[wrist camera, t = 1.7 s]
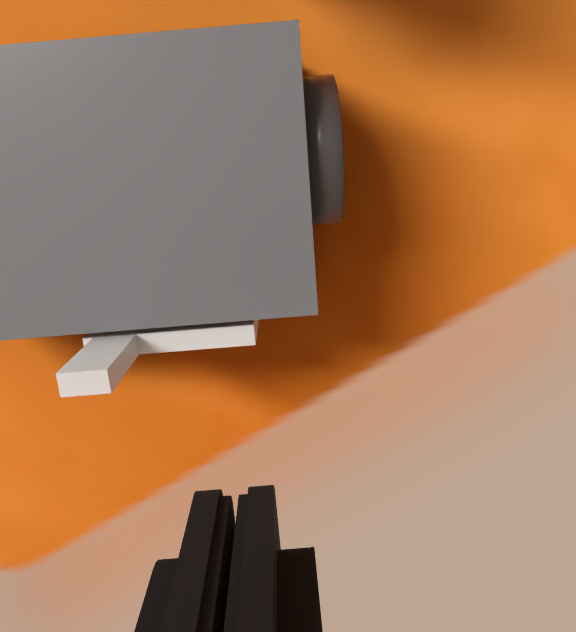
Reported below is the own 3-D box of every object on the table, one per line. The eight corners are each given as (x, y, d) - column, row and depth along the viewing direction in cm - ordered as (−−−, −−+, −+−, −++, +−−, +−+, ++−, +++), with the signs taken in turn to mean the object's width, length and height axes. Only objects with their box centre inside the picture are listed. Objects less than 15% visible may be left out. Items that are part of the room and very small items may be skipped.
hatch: (258, 288, 32) (248, 356, 21) (261, 309, 32) (251, 387, 21) (124, 299, 32) (42, 373, 21) (127, 320, 32) (49, 404, 21)
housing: (322, 57, 30) (342, 10, 20) (335, 291, 33) (357, 342, 24) (-69, 90, 30) (-229, 58, 20) (-13, 319, 34) (-127, 381, 24)
